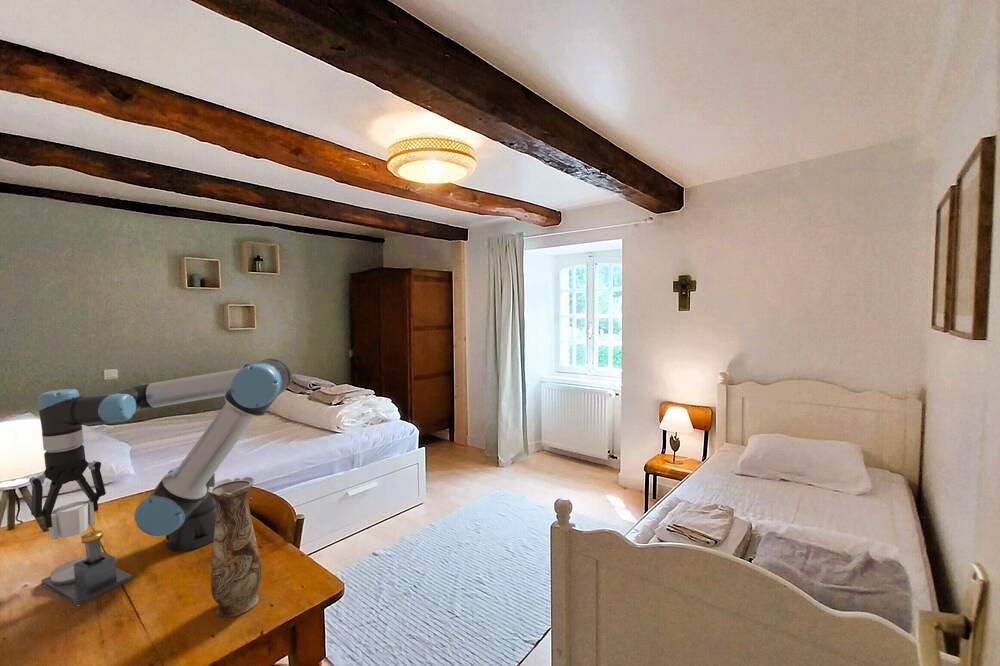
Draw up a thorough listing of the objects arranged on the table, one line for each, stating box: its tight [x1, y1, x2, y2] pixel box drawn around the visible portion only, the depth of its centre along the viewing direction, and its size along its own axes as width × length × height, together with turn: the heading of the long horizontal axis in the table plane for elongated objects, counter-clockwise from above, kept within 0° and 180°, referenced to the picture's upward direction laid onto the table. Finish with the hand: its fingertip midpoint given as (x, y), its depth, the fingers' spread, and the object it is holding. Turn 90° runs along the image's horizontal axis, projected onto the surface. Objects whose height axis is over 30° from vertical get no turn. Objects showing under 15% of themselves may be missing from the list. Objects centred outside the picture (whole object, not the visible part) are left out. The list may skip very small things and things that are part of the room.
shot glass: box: [52, 500, 89, 539], centre depth 115 cm, size 7×7×7 cm
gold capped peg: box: [80, 530, 104, 566], centre depth 111 cm, size 4×4×8 cm
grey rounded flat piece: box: [50, 556, 86, 585], centre depth 115 cm, size 10×10×2 cm
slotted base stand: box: [40, 551, 133, 606], centre depth 113 cm, size 20×11×7 cm, turn 65°
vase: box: [207, 476, 262, 618], centre depth 103 cm, size 10×11×30 cm
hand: (73, 530), depth 115 cm, fingers closed on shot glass, 7 cm apart
